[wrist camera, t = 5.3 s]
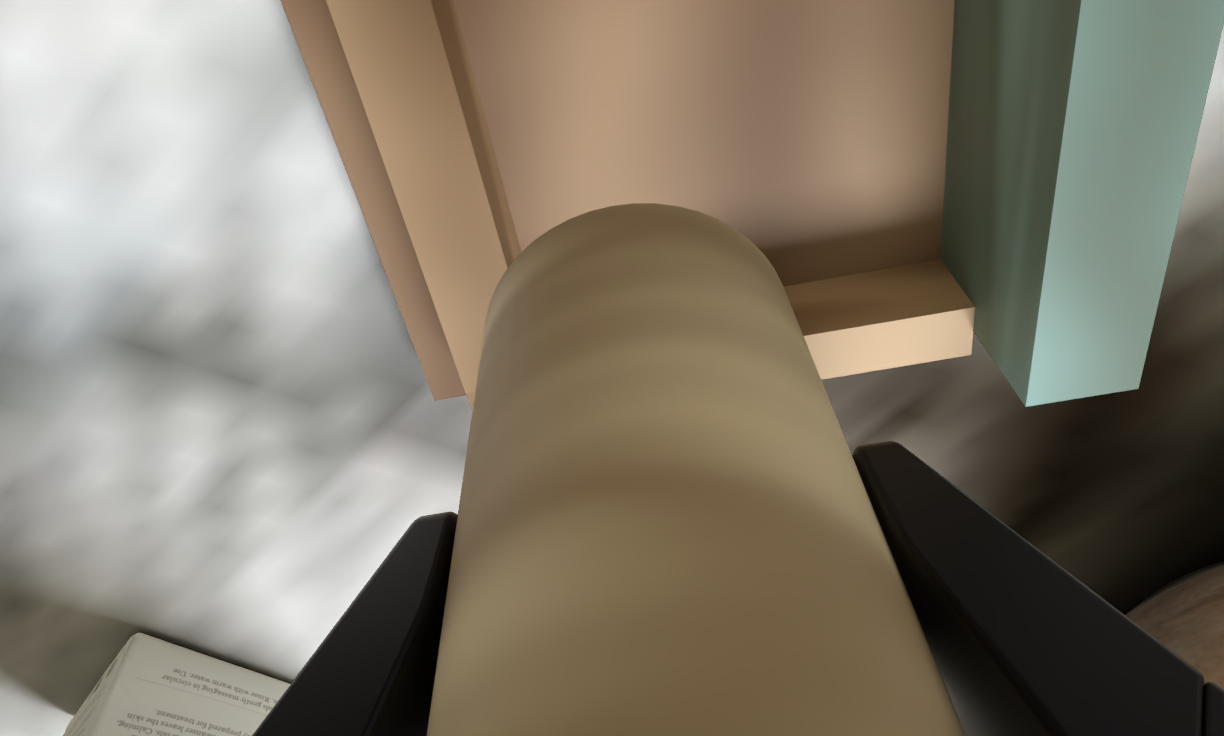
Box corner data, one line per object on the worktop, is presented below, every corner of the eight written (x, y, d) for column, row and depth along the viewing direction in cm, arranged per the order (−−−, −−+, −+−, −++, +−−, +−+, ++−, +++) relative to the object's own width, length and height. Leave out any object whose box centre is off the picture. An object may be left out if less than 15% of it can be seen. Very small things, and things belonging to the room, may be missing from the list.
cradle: (440, 371, 22) (405, 540, 17) (259, -119, 15) (122, -63, 11) (1067, 264, 20) (1213, 413, 16) (1157, -314, 14) (1443, -347, 9)
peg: (524, 478, 12) (450, 1818, 4) (445, 236, 10) (-26, 2141, 2) (797, 433, 12) (1254, 1772, 4) (781, 174, 10) (1756, 2089, 2)
